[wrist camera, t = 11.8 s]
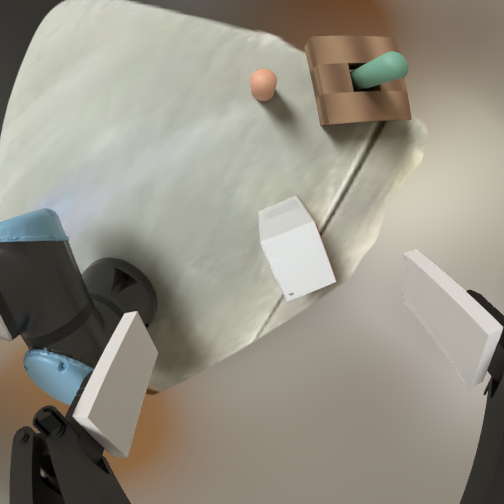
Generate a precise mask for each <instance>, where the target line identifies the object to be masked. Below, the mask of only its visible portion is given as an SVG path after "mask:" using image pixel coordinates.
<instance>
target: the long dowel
mask: <svg viewBox="0 0 504 504" xmlns="http://www.w3.org/2000/svg"><path fill="white" fill-rule="evenodd" d="M407 72H408V64H407V61H406V60H405V58H404V57H403V56H402V55H401V54H399V53H397V52H394V51H390V52H387V53H385V54H383V55H381V56H379V57H377V58H376V59H374V60H372V61H370V62H368V63H366V64H364V65H362V66H361V67H359V68H357V69H355V70H353V71H352V72H350V76H351V81H352V86H353V91H354V92H358V91H361V90H364V89H367V88H370V87H373V86H376V85H380V84H383V83H386V82H389V81H393V80H396V79H400V78H403V77H405V76H406V75H407Z"/></svg>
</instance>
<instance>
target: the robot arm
mask: <svg viewBox="0 0 504 504" xmlns="http://www.w3.org/2000/svg"><path fill="white" fill-rule="evenodd" d="M68 240H69V238H68V236H66V234H65V232H64V230H63V227H62V225H61V222H60V219H59V217H58V215H57V213H56V212H55V211H53V210H51V209H48V208H44V209H40V210H36V211H33V212H29V213H26V214H23V215H20V216H17V217H14V218H11V219H8V220H5V221H2V222H0V339H3V340H7V341H12V340H13V339H15V338H16V337H17V336H18V335H21V336H22V338H23V340H24V341H25V343H26V345H27V346H28V348H29V351H27V352H26V353H25V357H24V361H23V362H24V368H25V370H26V372H27V374H28V375H29V377H30V378H31V379H32V380H33V382H34V383H35V384H36V385H37V386H38V387H39V388H41V389H42V390H43V391H45V392H46V393H47V394H49V395H50V396H52V397H53V398H55V399H57V400H59V401H61V402H63V403H65V404H68V405H70V407H69V410H68V412H67V414H66V416H65V418H64V416H63V415H62V414H61V413H60V412H59V411H58V410H57V409H56V407H54V406H45V407H43V408H41V409H40V410H39V411H38V412H37V413H36V414H35V416H34V418H33V425H34V426H35V427H36V428H37V429H38V430H39V431H40V432H41V433H38V434H37V433H36V432H34V430H32V428H30V427H28V426H27V427H23V428H20V429H19V430H18V431H17V432H16V434H15V435H14V438H13V445H12V455H11V468H10V504H131V503H130V501H129V500H128V498H127V496H126V494H125V493H124V491H123V489H122V488H121V486H120V484H119V482H118V480H117V479H116V477H115V475H114V473H113V471H112V469H111V467H110V465H109V463H108V461H107V460H106V458H105V457H104V456H103V455H102V454H103V451H104V449H105V450H106V451H107V452H108V453H110V455H112V456H116V457H126V458H127V457H128V454H129V450H130V446H131V442H132V439H133V435H134V431H135V428H136V424H137V421H138V417H139V414H140V410H141V407H142V404H143V400H144V397H145V394H146V390H147V387H148V384H149V381H150V377H151V374H152V371H153V368H154V365H155V362H156V358H157V355H158V351H157V349H156V347H155V345H154V343H153V341H152V339H151V338H150V336H149V334H148V332H147V329H148V327H149V326H150V325H151V323H152V321H153V319H154V317H155V314H156V311H157V299H156V295H155V292H154V289H153V287H152V285H151V284H150V282H149V281H148V279H147V278H146V277H145V276H144V274H143V273H142V272H140V271H139V270H138V269H137V268H136V267H134V266H133V265H131V264H129V263H127V262H125V261H122V260H119V259H114V258H104V259H100V260H97V261H95V262H94V263H92V264H91V265H90V266H89V267H88V268H87V269H86V270H85V271H84V272H83V274H82V275H81V273H80V271H79V268H78V266H77V263H76V260H75V258H74V255H73V253H72V250H71V247H70V244H69V241H68ZM402 292H403V293H402V301H403V302H404V303H405V305H406V306H407V307H408V308H409V309H410V311H411V312H412V313H413V314H414V316H415V317H416V318H417V320H418V321H419V322H420V323H421V325H422V326H423V327H424V328H425V330H426V331H427V332H428V334H429V335H430V336H431V338H432V339H433V340H434V342H435V343H436V344H437V346H438V347H439V348H440V349H441V351H442V352H443V354H444V355H445V356H446V358H447V359H448V361H449V362H450V363H451V365H452V366H453V368H454V369H455V370H456V372H457V373H458V375H459V376H460V378H461V379H462V380H463V382H464V383H465V385H466V386H467V388H468V389H470V388H472V387H474V386H475V385H477V384H479V383H481V382H483V380H484V377H485V375H486V372H487V371H488V372H489V373H490V375H491V379H490V381H489V383H488V385H487V387H486V389H485V391H484V395H486V393H487V391H488V396H487V403H486V410H485V415H484V421H483V426H482V431H481V435H480V440H479V444H478V448H477V452H476V456H475V459H474V463H473V466H472V469H471V473H470V476H469V479H468V482H467V485H466V488H465V491H464V494H463V496H462V499H461V502H460V504H504V316H503V315H502V314H501V313H500V312H499V311H498V310H497V309H496V308H495V307H493V305H491V304H490V302H488V301H487V300H486V299H485V298H484V297H483V296H482V295H481V294H479V293H477V292H475V291H472V290H468V291H465V290H464V289H463V288H461V287H460V286H459V285H458V284H457V283H456V282H455V281H453V280H452V279H451V278H450V277H449V276H447V275H446V274H445V273H444V272H443V271H442V270H441V269H439V268H438V267H437V266H436V265H435V264H433V263H432V262H431V261H430V260H429V259H427V258H426V257H425V256H424V255H422V254H421V253H420V252H419V251H417V250H413V251H409V252H405V253H403V291H402ZM40 469H41V470H42V471H43V472H44V475H45V476H44V477H42V476H41V474H40Z"/></svg>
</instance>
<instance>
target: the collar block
mask: <svg viewBox="0 0 504 504" xmlns="http://www.w3.org/2000/svg"><path fill="white" fill-rule="evenodd" d="M304 48H305V52H306V56H307V61H308V65H309V69H310V74H311V79H312V83H313V88H314V93H315V98H316V103H317V109H318V114H319V120H320V125H331V124H341V123H352V122H366V121H383V120H411V113H410V107H409V100H408V95H407V89H406V84H405V78H404V77H403V78H400V79H396V80H393V81H389V82H386V83H383V84H380V85H376V86H373V87H370V88H367V91H366V92H354V91H353V86H352V81H351V76H350V72H349V70H355V69H357V68H359V67H361V66H362V65H364V64H366V63H368V62H370V61H372V60H374V59H376V58H377V57H379V56H381V55H383V54H385V53H387V52H390V51H394V52H397V53H399V52H398V48H397V44H396V40H395V38H391V37H375V36H317V37H311V38H310V39H309V40H308V42H307V44H306V45H305V47H304Z"/></svg>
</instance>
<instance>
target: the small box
mask: <svg viewBox="0 0 504 504" xmlns="http://www.w3.org/2000/svg"><path fill="white" fill-rule="evenodd" d="M258 220H259V235H260V245H261V247H262V249H263V252H264V254H265V256H266V258H267V260H268V263H269V265H270V267H271V270H272V272H273V274H274V276H275V279H276V281H277V282H278V284H279V286H280V288H281V290H282V292H283V294H284V296H285V299H286V301H290V300H293V299H295V298H298V297H301V296H303V295H306V294H308V293H311V292H313V291H316V290H318V289H320V288H323V287H325V286H328V285H330V284H332V283H335V282H336V278H335V275H334V272H333V269H332V266H331V263H330V260H329V257H328V255H327V252H326V249H325V246H324V244H323V241H322V238H321V236H320V233H319V230H318V228H317V225H316V223H315V221H314V220H313V218H312V217H311V215H310V214H309V213H308V211H307V210H306V208H305V207H304V205H303V204H302V202H301V201H300V199H299V198H298V197H297V196H294V197H292V198H289V199H287V200H285V201H282V202H280V203H277V204H275V205H273V206H270V207H268V208H265V209H263V210H261V211H259V212H258Z"/></svg>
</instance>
